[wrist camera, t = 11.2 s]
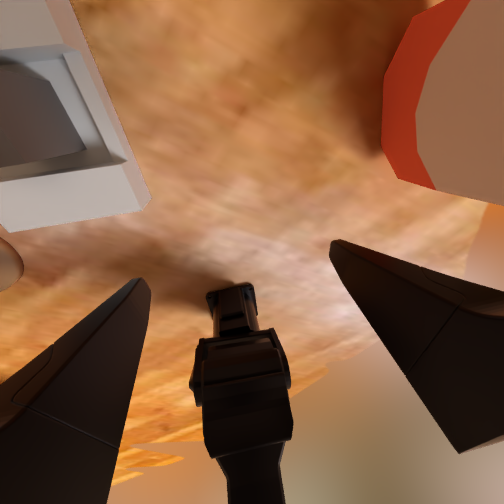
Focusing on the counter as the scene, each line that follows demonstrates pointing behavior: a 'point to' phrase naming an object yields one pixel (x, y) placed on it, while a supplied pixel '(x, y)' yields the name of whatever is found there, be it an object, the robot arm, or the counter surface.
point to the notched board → (82, 116)
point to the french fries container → (449, 101)
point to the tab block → (33, 121)
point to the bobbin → (9, 265)
